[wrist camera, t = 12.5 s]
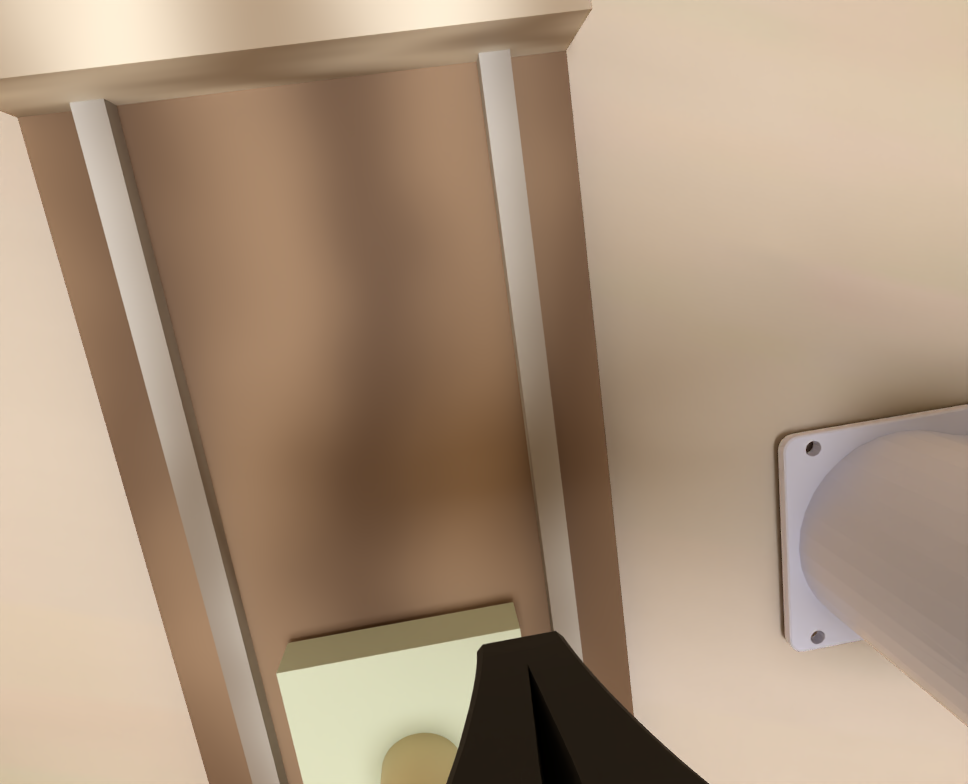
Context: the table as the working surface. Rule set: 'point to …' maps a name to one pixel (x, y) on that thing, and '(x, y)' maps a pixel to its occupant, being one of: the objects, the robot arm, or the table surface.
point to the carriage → (387, 696)
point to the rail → (329, 322)
